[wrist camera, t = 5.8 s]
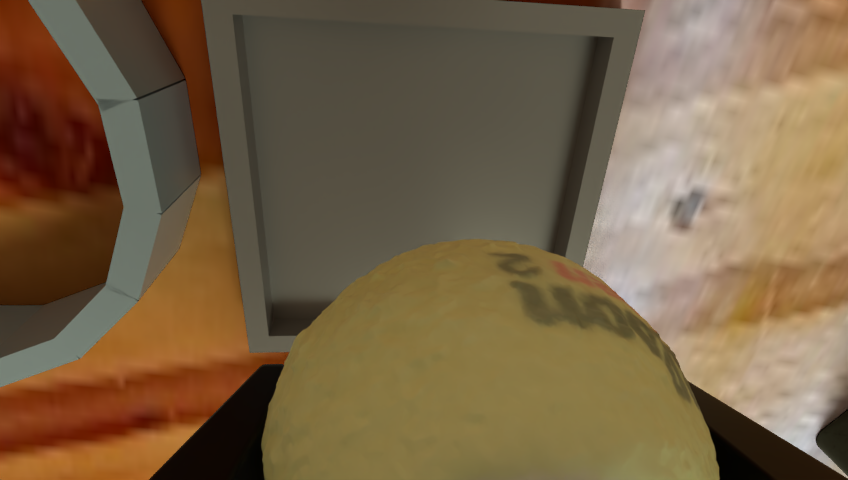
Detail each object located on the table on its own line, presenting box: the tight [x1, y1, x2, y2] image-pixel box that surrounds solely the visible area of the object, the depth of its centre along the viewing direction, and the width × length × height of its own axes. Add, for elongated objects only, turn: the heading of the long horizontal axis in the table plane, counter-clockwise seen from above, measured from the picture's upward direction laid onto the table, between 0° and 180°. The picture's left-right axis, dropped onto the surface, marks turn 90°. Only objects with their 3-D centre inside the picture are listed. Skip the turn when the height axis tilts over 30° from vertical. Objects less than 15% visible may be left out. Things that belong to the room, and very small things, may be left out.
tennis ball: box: [261, 239, 720, 480], centre depth 7 cm, size 6×7×7 cm
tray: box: [201, 0, 645, 353], centre depth 17 cm, size 13×13×2 cm
